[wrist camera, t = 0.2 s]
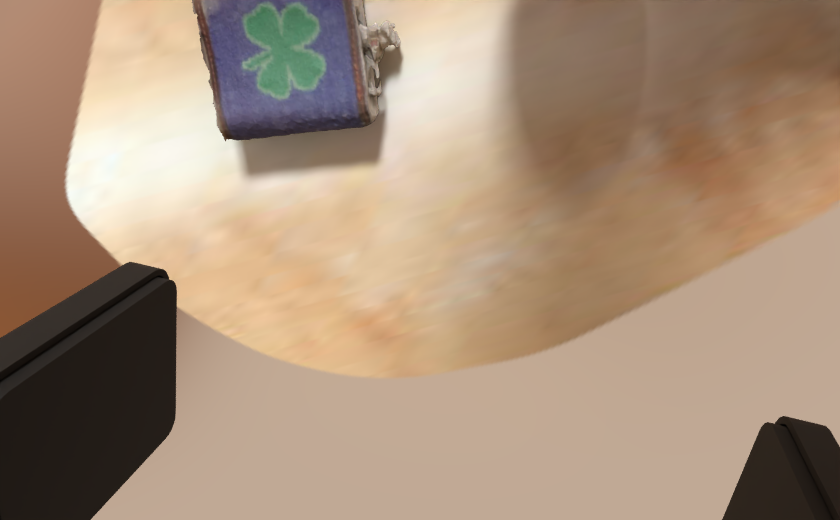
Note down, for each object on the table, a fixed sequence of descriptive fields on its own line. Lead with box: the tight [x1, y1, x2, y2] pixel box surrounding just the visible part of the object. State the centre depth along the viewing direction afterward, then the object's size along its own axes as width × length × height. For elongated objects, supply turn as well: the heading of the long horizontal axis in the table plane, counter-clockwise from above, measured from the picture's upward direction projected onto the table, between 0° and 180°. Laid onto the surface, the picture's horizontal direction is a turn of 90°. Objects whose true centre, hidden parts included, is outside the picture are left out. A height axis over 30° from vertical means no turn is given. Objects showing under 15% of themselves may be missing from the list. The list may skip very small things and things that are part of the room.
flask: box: [192, 0, 400, 141], centre depth 38 cm, size 9×3×11 cm
